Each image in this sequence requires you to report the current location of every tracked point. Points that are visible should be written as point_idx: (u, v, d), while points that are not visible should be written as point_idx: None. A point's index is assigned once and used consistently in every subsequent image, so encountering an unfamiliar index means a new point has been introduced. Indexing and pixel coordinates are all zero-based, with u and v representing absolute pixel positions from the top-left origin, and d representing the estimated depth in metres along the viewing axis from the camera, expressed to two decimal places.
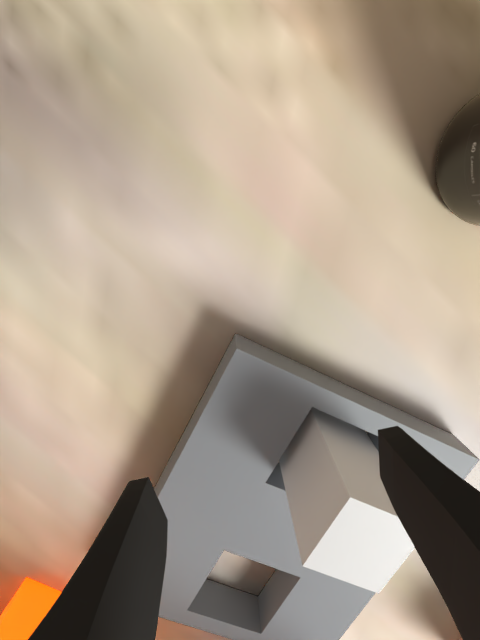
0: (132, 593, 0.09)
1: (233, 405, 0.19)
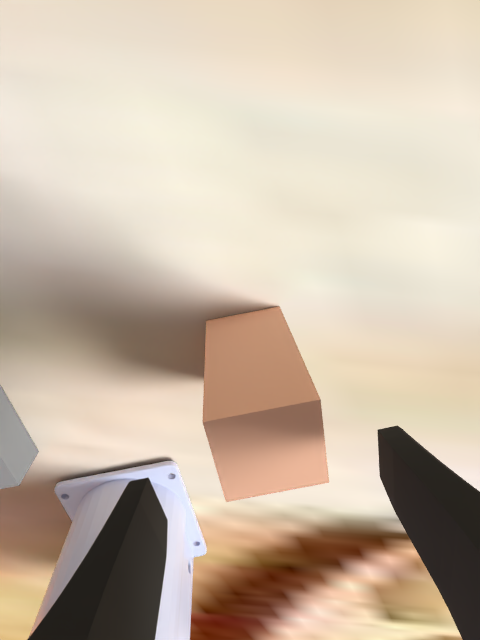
0: (132, 593, 0.09)
1: None
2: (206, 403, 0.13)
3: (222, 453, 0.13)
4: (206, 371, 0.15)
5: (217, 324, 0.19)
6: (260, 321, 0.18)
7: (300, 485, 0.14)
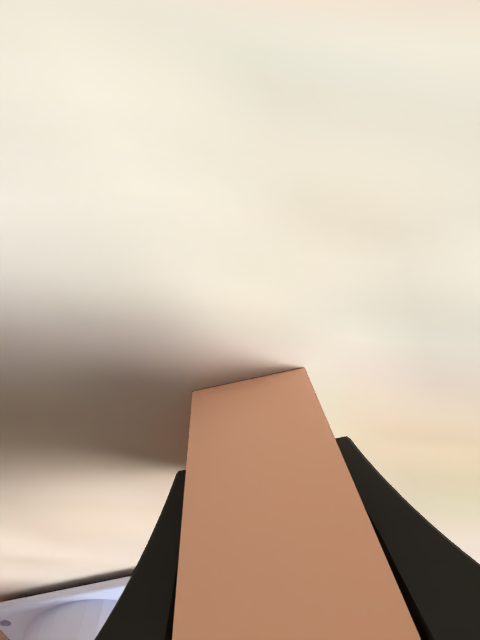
0: None
1: None
2: (178, 637, 0.06)
3: None
4: (185, 524, 0.08)
5: (209, 401, 0.12)
6: (276, 399, 0.11)
7: None
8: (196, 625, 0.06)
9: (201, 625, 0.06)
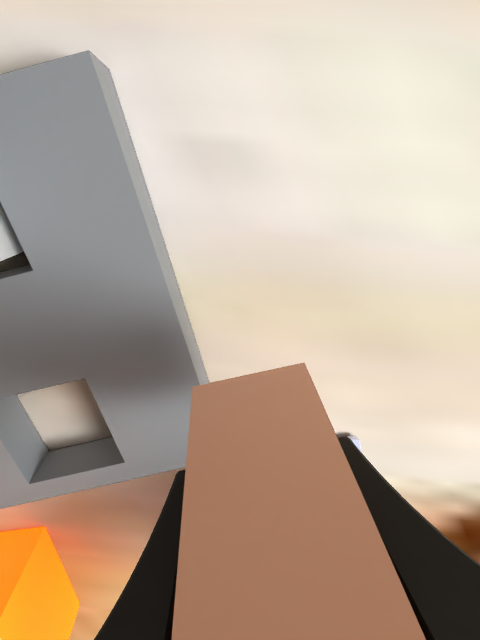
0: None
1: None
2: (179, 626, 0.06)
3: None
4: (185, 516, 0.08)
5: (209, 396, 0.12)
6: (276, 393, 0.11)
7: None
8: (196, 614, 0.06)
9: (201, 614, 0.06)
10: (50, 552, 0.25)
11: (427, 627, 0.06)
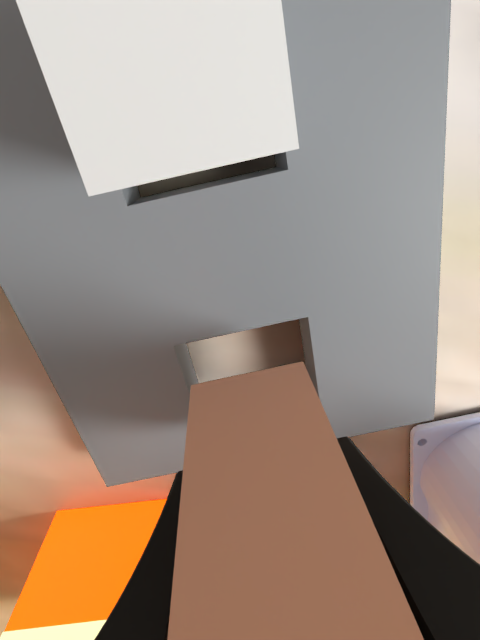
0: None
1: None
2: (175, 625, 0.06)
3: None
4: (182, 514, 0.08)
5: (207, 394, 0.12)
6: (274, 392, 0.11)
7: None
8: (192, 613, 0.06)
9: (197, 613, 0.06)
10: None
11: (427, 627, 0.06)
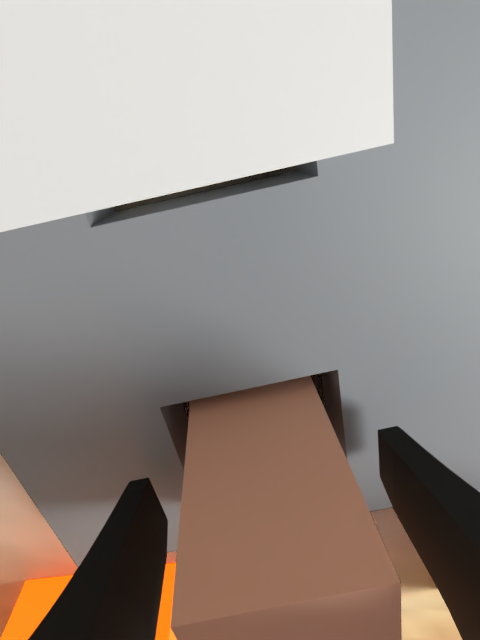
0: (132, 593, 0.09)
1: None
2: (181, 567, 0.07)
3: None
4: (186, 479, 0.09)
5: None
6: None
7: None
8: (196, 558, 0.07)
9: (201, 558, 0.07)
10: None
11: None
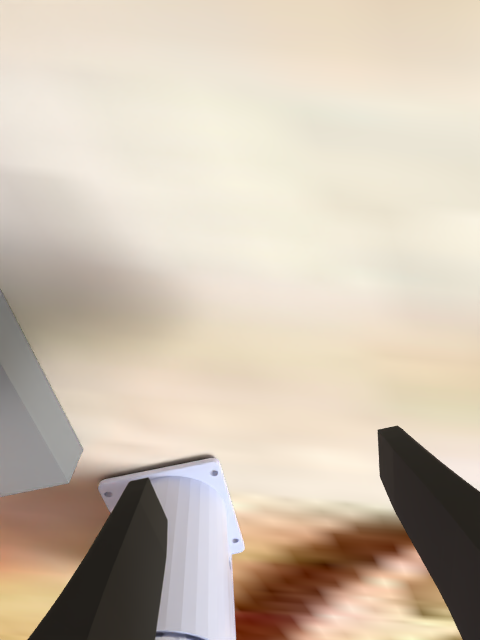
0: (132, 593, 0.09)
1: None
2: None
3: None
4: None
5: None
6: None
7: None
8: None
9: None
10: None
11: None
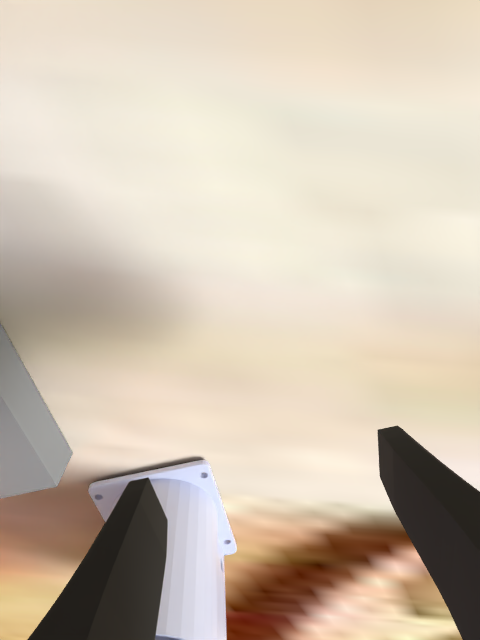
0: (132, 593, 0.09)
1: None
2: None
3: None
4: None
5: None
6: None
7: None
8: None
9: None
10: None
11: None
